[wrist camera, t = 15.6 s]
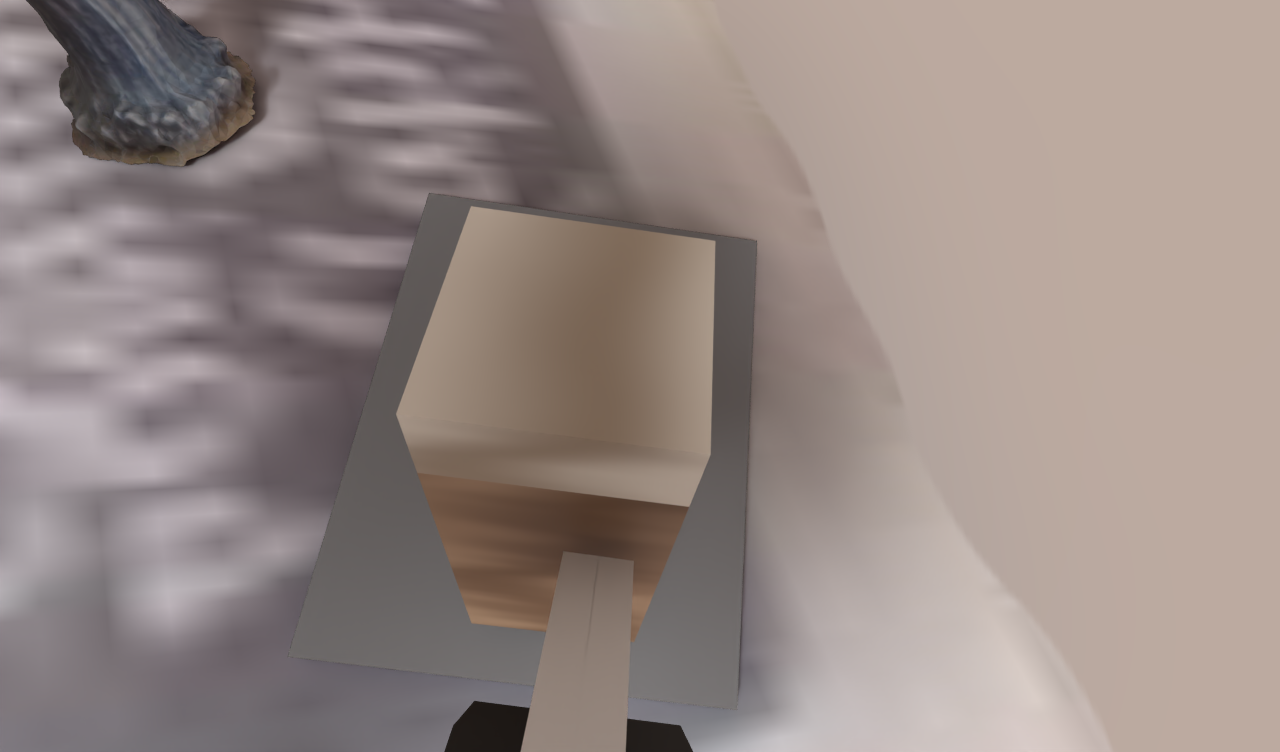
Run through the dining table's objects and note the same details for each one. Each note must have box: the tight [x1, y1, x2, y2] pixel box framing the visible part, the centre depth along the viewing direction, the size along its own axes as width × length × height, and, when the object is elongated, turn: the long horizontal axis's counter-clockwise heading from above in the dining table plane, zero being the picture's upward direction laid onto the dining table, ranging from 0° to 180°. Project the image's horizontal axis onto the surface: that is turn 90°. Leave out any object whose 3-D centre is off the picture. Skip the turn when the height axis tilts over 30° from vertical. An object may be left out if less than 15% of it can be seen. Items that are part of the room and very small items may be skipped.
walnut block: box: [396, 206, 715, 642], centre depth 17 cm, size 5×5×12 cm
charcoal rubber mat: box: [288, 193, 757, 710], centre depth 24 cm, size 14×18×1 cm
